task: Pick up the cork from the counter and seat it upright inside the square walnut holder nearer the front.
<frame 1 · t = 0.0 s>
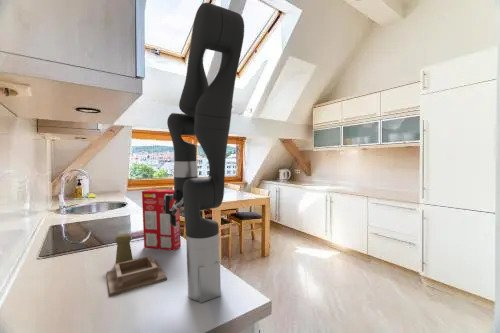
hand: (186, 223, 81), 17 cm above the worktop, tool pointing down, fingers open, 8 cm apart
shaker holder: (136, 276, 81), on the worktop
food packaging: (162, 247, 108), on the worktop
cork: (124, 264, 92), on the worktop
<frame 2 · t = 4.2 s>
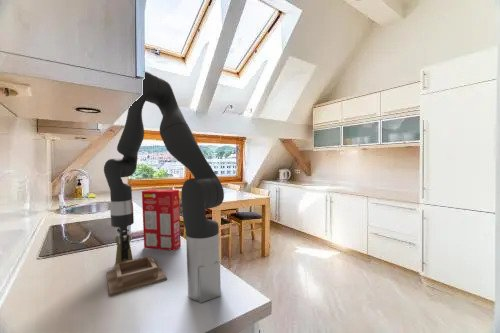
hand: (124, 257, 92), 2 cm above the worktop, tool pointing down, fingers closed on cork, 4 cm apart
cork: (124, 263, 92), on the worktop, touching gripper
everything else where it was.
when the fingers open (5 cm above the worktop, at t = 10.2 s): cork drops 2 cm, resting on shaker holder.
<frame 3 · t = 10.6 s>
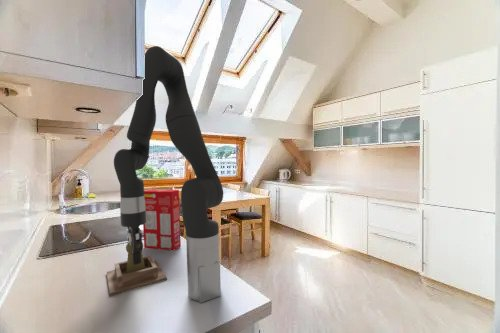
hand: (135, 259, 81), 6 cm above the worktop, tool pointing down, fingers open, 7 cm apart
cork: (136, 274, 81), point 1 cm above the worktop, touching shaker holder
everything else where it was.
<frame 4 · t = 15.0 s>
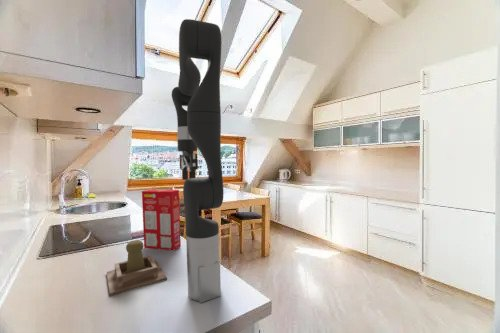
hand: (188, 180, 96), 30 cm above the worktop, tool pointing down, fingers open, 8 cm apart
nothing on the worktop moved.
at the end: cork 0.1 cm off-centre on the shaker holder, point 0.6 cm above the shaker holder's base; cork tilted 0°; the gripper is holding nothing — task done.
